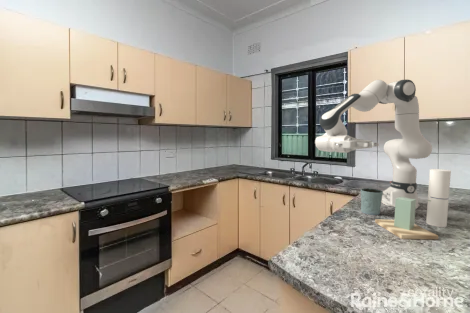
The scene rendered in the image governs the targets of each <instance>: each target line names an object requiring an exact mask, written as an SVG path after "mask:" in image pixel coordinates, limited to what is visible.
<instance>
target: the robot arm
mask: <svg viewBox="0 0 470 313" xmlns="http://www.w3.org/2000/svg"><path fill="white" fill-rule="evenodd" d="M416 91H417V90H416V85H415V82H414V81H413V80H410V79H400V80H398V81H397V80H396V81H393V82H390V83H387V82H385V81H384V80H382V79H375V80H373V81H371V82H369V84H368V85H366V86H365V87H364V88H363V89H361V91H360V92H359V93H352V94H350V95H348V96H347V97H346V98H344V99H343V100H341V101H340V102H339V103H338V104H336V105H335V106H333V108H331V109H329V110H327V111H325V112H324V113H323V114H321V116H320V118H319V121H318V123H319V125H320V127H321V128H322V129H323V131H325V133H324V134H322V135H320V136H316V138H315V140H314V144H315V147H316V148H317V150H318V151H320V152H329V153H333V152H335V153H343V154H344V153H345V154H346V153H347V154H348V153H350V152H352V151H353V152H354V151H356V150H364V149H365V150H366V149H372V148H373V147H376V148H377V147H379V144H380V143H379V142H373V140H370V139H359V138H357V137H353V136H350V135H349V134H348V129H347V128H346V126H345V124H344V123H343V121H342V119H341V116H342V115H343V114H344V113H346V111H348V110H349V109H350V108H353V109H355V110H356V111H359V112H364V113H365V112H370V111H372V110H373V109H374V108H375V107H376V106H377V105H378V104H383V105H386V104H394V106H395V112H394V128H395V130H396V131H397V132H399V134H400V135H401V138H393V139H390V140H387V141H386V142H385V143H384V145H383V151H384V153H385V155H387V157H388V158H389V159H390V162H391V166H392V180H391V181H389V183H390V185H389V187H387V188H385V189H384V190H382V191H383V195H382V200H381V204H383V205H385V206H387V207H392V208H393V207H394V208H395V202H396V198H399V197H405V198H411V199H416V207H415V210H416V209H418V208H419V207H420V206H421V205H420V203H419V196H418V191H417V189H418V188H417V187H418V183H417V175H418V174H417V173H418V172H417V167H415V166H414V165H413V164H412V163H411V161H410V159H411V160H413V159H414V160H418V159H425V158H428V157H430V155H431V154H432V152H433V146H432V143H431V142H430V141H429V140H428V139H426V138H425V136H424V135H423V134H422V131H421V128H420V106H419V105H420V103H419V99H418V97H417V96H416Z"/></svg>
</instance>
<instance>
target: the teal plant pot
mask: <svg viewBox="0 0 470 313" xmlns="http://www.w3.org/2000/svg"><path fill="white" fill-rule="evenodd" d="M383 191H384V190H381V189H378V188H377V189H376V188H370V187H369V188H366V187H365V188H360V199H361V200H360V202H361V204H360V212H361V213H363V214H365V215H370V216H379V215H380V214H381V208H382V207H381V206H382V202H381V200H382V195H383Z"/></svg>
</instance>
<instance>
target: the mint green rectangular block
mask: <svg viewBox="0 0 470 313" xmlns="http://www.w3.org/2000/svg"><path fill="white" fill-rule="evenodd" d="M415 207H416V199H411V198H405V197H399V198H396V202H395V207H394V219H393V220H394V226H395V227H399V228H403V229H407V230H410V229H412V228H414V224H415V222H416V221H415V219H416V218H415V217H416V209H415Z"/></svg>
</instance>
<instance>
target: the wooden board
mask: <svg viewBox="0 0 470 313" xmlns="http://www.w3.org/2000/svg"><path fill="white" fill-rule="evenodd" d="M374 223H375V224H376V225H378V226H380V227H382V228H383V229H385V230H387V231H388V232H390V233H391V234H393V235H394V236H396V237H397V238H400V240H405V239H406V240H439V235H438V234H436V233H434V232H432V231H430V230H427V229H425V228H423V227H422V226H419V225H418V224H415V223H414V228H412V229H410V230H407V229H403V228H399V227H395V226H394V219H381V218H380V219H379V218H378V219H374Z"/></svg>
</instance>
